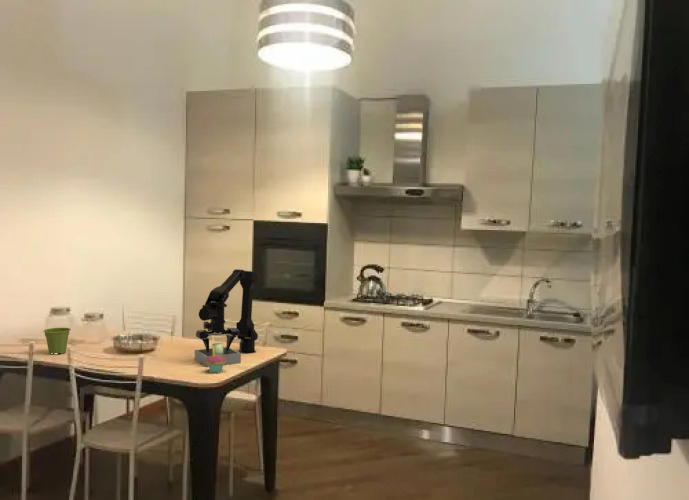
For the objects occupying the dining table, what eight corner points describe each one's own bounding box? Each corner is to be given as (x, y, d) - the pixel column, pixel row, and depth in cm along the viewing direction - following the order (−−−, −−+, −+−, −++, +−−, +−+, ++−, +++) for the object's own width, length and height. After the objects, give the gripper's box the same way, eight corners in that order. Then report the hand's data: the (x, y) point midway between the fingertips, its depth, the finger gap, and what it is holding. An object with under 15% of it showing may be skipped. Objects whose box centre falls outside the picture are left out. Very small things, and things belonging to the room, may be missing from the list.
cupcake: (215, 374, 260) (216, 346, 259) (201, 371, 264) (201, 343, 264) (230, 370, 267) (230, 343, 267) (215, 368, 272) (215, 340, 271)
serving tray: (227, 356, 295) (228, 346, 295) (240, 363, 281) (240, 353, 281) (194, 359, 287) (194, 350, 286) (206, 367, 273) (206, 356, 273)
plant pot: (45, 351, 299) (45, 327, 298) (72, 350, 302) (72, 327, 301) (41, 356, 287) (41, 332, 287) (68, 355, 291) (68, 331, 290)
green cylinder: (220, 357, 287) (221, 342, 287) (224, 359, 283) (224, 344, 283) (210, 358, 285) (210, 343, 284) (214, 360, 280) (214, 345, 280)
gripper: (230, 313, 295) (230, 346, 295) (192, 316, 285) (192, 350, 286) (239, 317, 285) (239, 351, 286) (200, 320, 275) (199, 355, 276)
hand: (217, 351), depth 284 cm, fingers open, 9 cm apart
